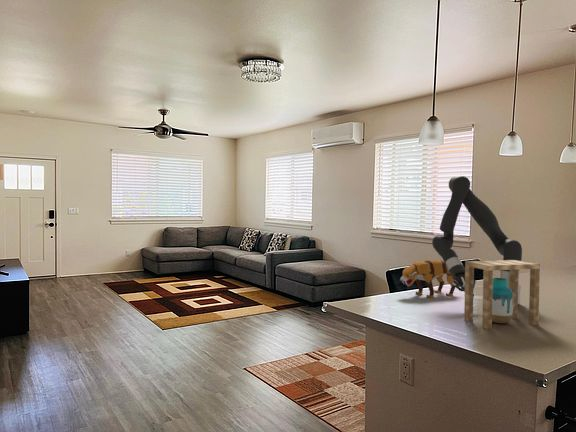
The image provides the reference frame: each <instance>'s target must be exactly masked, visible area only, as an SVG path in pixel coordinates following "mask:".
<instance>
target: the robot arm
mask: <svg viewBox="0 0 576 432" xmlns="http://www.w3.org/2000/svg"><path fill="white" fill-rule="evenodd" d="M448 189H449V190H450V191H451V197H450V201H449V202H448V205H447V206H446V209H445V211H444V212H443V216H442V219H441V222H440V226H439V230H440V231H441V232H443V235H436V236H434V237H433V239H432V241H431V242H432V243H431V244H432V248H433V249H434V250H435V252H437V254H438V255H439V256H440V257H441V258H442V261H443V262H445V264H446V267H447V269H448V271H449V273H450V275H451V277H452V278H453V279H454V281H453V282H452V285H453V286H454V287H455V289H457V290H458V291H460V292H464V293H465V265H464V264H463V263H462V261H461V259H460V258H459V256H458V255H457V252H456V251H455V250H454V249H452V247H453V245H454V237H455V236H454V235H455V233H454V230H455V227H456V224H457V220H458V216H459V213H460V210H461V208H462V205H463V206H464V207H465V208H466V210H467V211H468V213H469V214H470V216H471V217H472V218H473V219H474V221H475V222H476V224H477V225H478V226H479V227H480V228H481V230H482V231H483V232H484V233H485V235H487V237H488V238H489V240H490V241H491V243H492V244H493V246H494V247H495V249H496V250H497V252H498V253H499V255H500V256H503V257H502V258H503V259H502V260H518V261H523V260H522V259H523V258H522V256H523V248H522V247H523V246H522V245H521V243H520V242H519V241H518V240H515V239H511V238H509V237H508V236H507V235H506V234H505V233H504V232H503V231H502V229H501V228H500V224H499V222H498V219H497V217H496V215H495V213H494V212H493V211H492V210H491V208H490V207H489V206H488V205H487V204H486V203H484V202H483V201H482V200H481V199H480V198H479V197H478V196H476V194H475V193H474V192H473V191H472V189H471V181H470V179H469V178H468V177H466V176H464V175H456V176H453V177H451V178H450V179H449V181H448ZM498 278H505V279H507V286H508V288H509V283H510V270H498ZM476 281H477V280H476V279H474V288H475V286H476ZM521 288H522V287H521V285H520V275H519V276H518V305H521V290H522V289H521ZM473 298H475V294H474V293H473Z"/></svg>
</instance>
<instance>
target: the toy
mask: <svg viewBox="0 0 576 432" xmlns="http://www.w3.org/2000/svg"><path fill="white" fill-rule="evenodd" d="M444 275H446V281H447V284H449V285H450V289H449V292H448V293H447V292H446V293H445V296H447V297H452V296H454V293H455V289H456V287H454V286H453V285H452V282H453V281H454V279H453V278H452V277H451V275H450V273H449V271H448V269H447V267H446V264H445V262H444V260H438V259H428V260H425V261H424V260H423V261H415V262H413V263H412V264H411V265H409V266H407V267H404V269H403V270H402V276H401V277H400V279H399V281H401V283H403V285H405V286H406V287H411V286H413V284H414V282H415V283H416V286H417V288H418V291H415V295H423V291H424V290H423V289H424V287H423V284H422V281H425V283H426V286H427V288H428V291H429V295H428V294H426V298H430V299H432V298H434V295H435V294H441V293H442V290H443V287H444V284H445V280H444V279H443V276H444ZM435 279H436V281H437V282H438V283H439V285H438V288H437V290H435V289H434V285H433V280H435Z"/></svg>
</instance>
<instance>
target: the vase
mask: <svg viewBox="0 0 576 432" xmlns="http://www.w3.org/2000/svg"><path fill="white" fill-rule="evenodd" d="M512 314H513V292H512V290H511V289H510V288H508V286H507V279H505V278H499V277H493V292H492V323H496V324H507V323H509V322H510V321H512Z"/></svg>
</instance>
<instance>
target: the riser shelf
mask: <svg viewBox="0 0 576 432" xmlns="http://www.w3.org/2000/svg"><path fill="white" fill-rule="evenodd" d="M540 267H541V264H540V263H536V262H529V261H523V260H521V261H518V260H503V259H502V260H501V259H500V260H496V259H495V260H466V261H465V264H464V268H465V292H464V306H463V307H464V308H463V309H464V311H463V312H464V313H463V314H464V315H463V319H464V321H465V322H467V323H469V322H474V297H473V294H474V290H475V287H474V280H475V279H474V278H475V269H479V270H483V273H482V275H483V277H482V278H483V279H482V280H483V281H482V283H483V284H482V321H481V322H482V323H481V324H482V329H486V330H491V329H493V327H492V326H493V325H492V324H493V322H492V292H493V278H494V277H493V276H494V271H499V270H510V283H509V288H510V289H511V290H512V292H513V314H512V318H511V320H512V319H515V320H516V319H518V312H519V310H518V309H519V304H518V276H519V277H520V270H529V297H528V299H529V300H528V302H529V305H528V325H531V326H539V322H540V321H539V319H540V317H539V315H540V312H539V311H540V310H539V309H540V279H541V278H540V276H541V275H540V273H541V272H540V271H541V270H540V269H541V268H540Z"/></svg>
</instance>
